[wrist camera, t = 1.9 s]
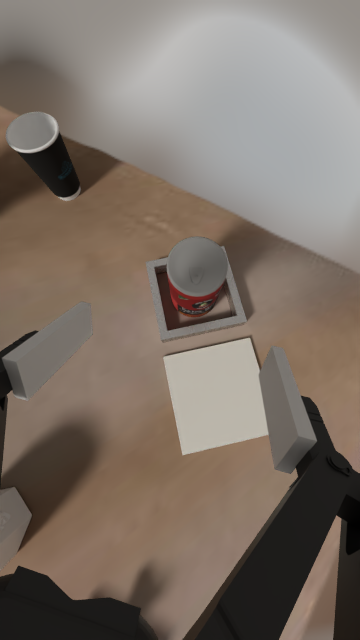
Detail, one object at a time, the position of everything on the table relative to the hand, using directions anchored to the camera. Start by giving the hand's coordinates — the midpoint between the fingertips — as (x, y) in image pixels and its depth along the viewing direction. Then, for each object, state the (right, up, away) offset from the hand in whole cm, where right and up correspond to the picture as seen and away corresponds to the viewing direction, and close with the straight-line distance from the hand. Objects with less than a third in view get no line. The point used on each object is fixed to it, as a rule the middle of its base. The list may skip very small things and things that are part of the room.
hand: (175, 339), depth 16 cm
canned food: (+3, +5, +22) cm, 23 cm away
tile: (+6, -10, +18) cm, 21 cm away
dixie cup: (-22, +27, +28) cm, 44 cm away
